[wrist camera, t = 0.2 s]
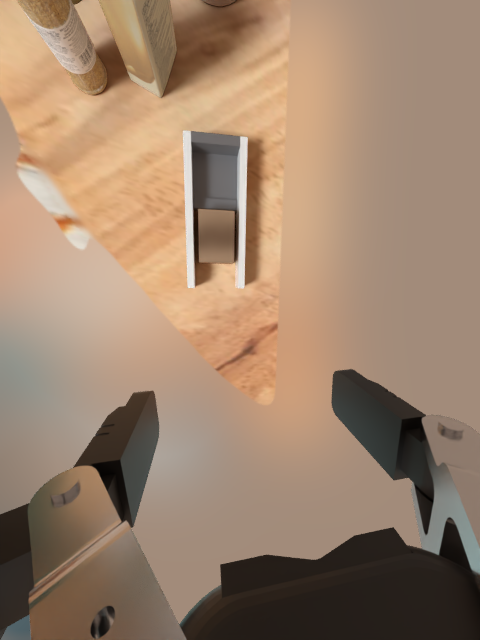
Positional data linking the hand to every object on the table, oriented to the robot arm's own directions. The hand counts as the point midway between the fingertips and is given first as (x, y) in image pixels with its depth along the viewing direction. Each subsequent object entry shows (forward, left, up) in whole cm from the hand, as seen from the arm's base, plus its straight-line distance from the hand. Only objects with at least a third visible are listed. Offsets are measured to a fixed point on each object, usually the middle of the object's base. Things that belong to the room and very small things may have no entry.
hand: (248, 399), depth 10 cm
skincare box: (-32, -8, -29) cm, 44 cm away
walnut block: (-10, 0, -29) cm, 31 cm away
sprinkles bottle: (-30, -16, -29) cm, 44 cm away
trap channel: (-13, 0, -28) cm, 31 cm away
